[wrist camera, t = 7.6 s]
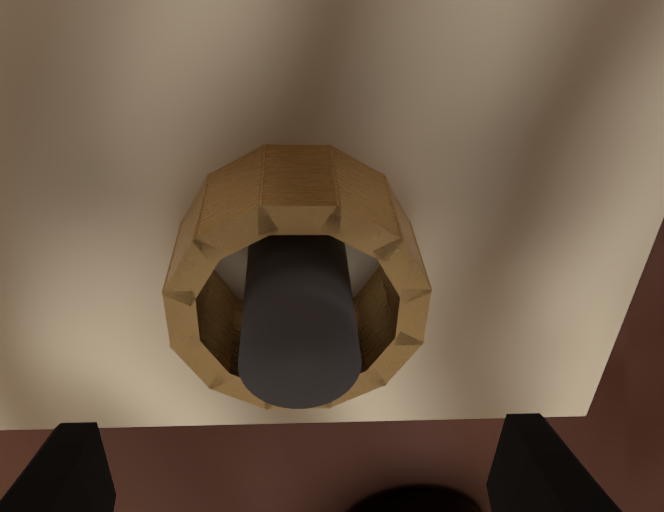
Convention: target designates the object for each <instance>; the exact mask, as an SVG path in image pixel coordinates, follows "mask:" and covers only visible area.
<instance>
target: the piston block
mask: <svg viewBox="0 0 664 512" xmlns="http://www.w3.org/2000/svg"><path fill="white" fill-rule="evenodd" d="M262 144H266V145H332V146H333V147H335V148H337V149H338V150H340V151H342V152H344V153H346V154H347V155H349V156H351V157H353V158H355V159H356V160H358V161H360V162H362V163H364V164H365V165H367V166H369V167H371V168H373V169H374V170H376V171H378V172H380V173H382V174H384V175H385V176H386V178H387V181H388V183H389V185H390V187H391V188H392V190H393V192H394V194H395V196H396V198H397V199H398V201H399V203H400V205H401V207H402V209H403V210H404V212H405V214H406V216H407V218H408V220H409V221H410V222H411V225H412V229H413V232H414V235H415V238H416V241H417V244H418V247H419V250H420V253H421V257H422V260H423V263H424V266H425V269H426V272H427V275H428V278H429V281H430V285H431V288H432V292H431V298H430V304H429V310H428V317H427V323H426V329H425V336H424V343H423V345H421V347H420V348H419V349H418V350H417V351H416V352H415V353H414V354H413V355H412V356H411V358H410V359H409V360H408V361H407V362H406V363H405V364H404V365H403V366H402V367H401V369H400V370H399V371H398V372H397V373H396V374H395V375H394V376H393V377H392V378H391V380H390V381H389V382H388V383H387V385H385V386H382V387H380V388H377V389H375V390H372V391H370V392H368V393H365V394H363V395H360V396H358V397H356V398H353V399H351V400H348V401H346V402H343V403H341V404H339V405H336V406H334V407H331V408H329V409H327V408H321V409H307V408H314V407H318V406H322V405H325V404H328V403H330V402H332V401H334V400H336V399H338V398H340V397H341V396H343V395H344V394H345V393H346V392H348V391H349V390H350V389H351V388H352V386H353V385H354V384H355V382H356V381H357V379H358V377H359V374H360V371H361V366H362V359H361V353H360V346H359V339H358V332H357V325H356V318H355V311H354V304H353V297H355V296H356V295H357V294H358V292H359V291H360V290H361V289H362V287H363V286H364V285H365V283H366V282H367V281H368V280H369V278H370V277H371V276H372V275H373V273H374V272H375V271H376V270H377V268H378V267H379V266H380V263H379V261H378V260H377V259H376V258H374V257H372V256H370V255H368V254H366V253H364V252H362V251H360V250H358V249H356V248H354V247H352V246H350V245H348V244H346V243H344V242H342V241H340V240H338V239H336V238H334V237H332V236H330V235H269V236H267V237H265V238H263V239H261V240H259V241H257V242H255V243H253V244H251V245H249V246H247V247H245V248H243V249H241V250H239V251H237V252H235V253H233V254H231V255H229V256H227V257H225V258H223V259H221V260H220V261H219V262H218V264H217V265H216V267H215V270H216V272H217V273H218V274H219V275H220V277H221V278H222V279H223V280H224V282H225V283H226V284H227V285H228V286H229V288H230V289H231V290H232V291H233V293H234V294H235V295H236V296H237V297H238V298H240V299H242V300H244V302H243V313H242V324H241V335H240V346H239V357H238V371H239V375H240V378H241V380H242V382H243V384H244V385H245V387H246V388H247V389H248V390H249V391H250V392H251V393H252V394H253V395H254V396H256V397H257V398H259V399H260V400H262V401H264V402H266V403H269V404H271V405H274V406H278V407H282V408H289V409H277V410H265V409H264V408H261V407H258V406H255V405H253V404H250V403H247V402H244V401H242V400H239V399H236V398H234V397H231V396H228V395H225V394H223V393H220V392H217V391H214V390H212V389H211V390H210V389H209V388H208V386H207V385H206V384H205V383H204V382H203V381H202V380H201V379H200V378H199V377H198V376H197V375H196V374H195V373H194V372H193V371H192V370H191V369H190V368H189V366H188V365H187V364H186V363H185V362H184V361H183V360H182V359H181V358H180V357H179V356H178V355H177V354H176V353H175V352H174V351H173V350H172V349H171V348H170V346H169V345H170V341H169V335H168V328H167V321H166V315H165V308H164V301H163V295H161V294H162V289H163V286H164V282H165V278H166V275H167V271H168V267H169V264H170V260H171V256H172V253H173V249H174V245H175V242H176V238H177V234H178V231H179V227H180V223H181V221H182V220H183V219H184V217H185V215H186V213H187V212H188V210H189V208H190V206H191V204H192V203H193V201H194V199H195V197H196V196H197V194H198V192H199V190H200V188H201V187H202V185H203V183H204V181H205V180H206V177H207V175H208V174H209V173H212V172H214V171H215V170H217V169H219V168H221V167H223V166H225V165H227V164H229V163H230V162H232V161H234V160H236V159H238V158H240V157H242V156H244V155H245V154H247V153H249V152H251V151H253V150H255V149H257V148H259V147H260V146H262ZM663 218H664V0H0V430H26V429H55V427H57V426H58V425H59V424H60V423H78V422H97V424H98V428H109V427H151V426H192V425H234V424H275V423H317V422H358V421H399V420H441V419H482V418H506V414H522V413H540V414H541V415H542V416H543V417H565V416H586V414H587V412H588V409H589V407H590V404H591V402H592V399H593V397H594V394H595V391H596V389H597V386H598V384H599V381H600V379H601V376H602V374H603V371H604V368H605V366H606V363H607V361H608V358H609V356H610V353H611V351H612V348H613V345H614V343H615V340H616V338H617V335H618V333H619V330H620V328H621V325H622V322H623V320H624V317H625V315H626V312H627V310H628V307H629V305H630V302H631V299H632V297H633V294H634V292H635V289H636V287H637V284H638V282H639V279H640V276H641V274H642V271H643V269H644V266H645V264H646V261H647V259H648V256H649V253H650V251H651V248H652V246H653V243H654V241H655V238H656V236H657V233H658V230H659V228H660V225H661V223H662V220H663Z"/></svg>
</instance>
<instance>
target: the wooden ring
mask: <svg viewBox="0 0 664 512" xmlns="http://www.w3.org/2000/svg"><path fill="white" fill-rule="evenodd" d="M269 235H330V236H332V237H334V238H336V239H338V240H340V241H342V242H344V243H346V244H348V245H350V246H352V247H354V248H356V249H358V250H360V251H362V252H364V253H366V254H368V255H370V256H372V257H374V258H376V259H377V260H378V261H379V263H380V266H379V267H378V268H377V270H376V271H375V272H374V273H373V275H372V276H371V277H370V278H369V280H368V281H367V282H366V283H365V285H364V286H363V287H362V289H361V290H360V291H359V292H358V294H357V295H356V296H355V297H353V304H354V311H355V318H356V325H357V332H358V339H359V346H360V353H361V359H362V366H361V371H360V374H359V377H358V379H357V381H356V382H355V384H354V385H353V386H352V388H351V389H350V390H349V391H348V392H346V393H345V394H344V395H343V396H341V397H340V398H338V399H336V400H334V401H332V402H330V403H328V404H325V405H322V406H318V407H314V408H307V409H321V408H327V409H329V408H331V407H334V406H336V405H339V404H341V403H343V402H346V401H348V400H351V399H353V398H356V397H358V396H360V395H363V394H365V393H368V392H370V391H372V390H375V389H377V388H380V387H382V386H385V385H387V383H388V382H389V381H390V380H391V378H392V377H393V376H394V375H395V374H396V373H397V372H398V371H399V370H400V369H401V367H402V366H403V365H404V364H405V363H406V362H407V361H408V360H409V359H410V358H411V356H412V355H413V354H414V353H415V352H416V351H417V350H418V349H419V348H420V347H421V345H423V343H424V336H425V329H426V323H427V317H428V310H429V304H430V298H431V292H432V288H431V285H430V281H429V278H428V275H427V272H426V269H425V266H424V263H423V260H422V257H421V253H420V250H419V247H418V244H417V241H416V238H415V235H414V232H413V229H412V225H411V222H410V221H409V220H408V218H407V216H406V214H405V212H404V210H403V209H402V207H401V205H400V203H399V201H398V199H397V198H396V196H395V194H394V192H393V190H392V188H391V187H390V185H389V183H388V181H387V178H386V176H385V175H384V174H382V173H380V172H378V171H376V170H374V169H373V168H371V167H369V166H367V165H365V164H364V163H362V162H360V161H358V160H356V159H355V158H353V157H351V156H349V155H347V154H346V153H344V152H342V151H340V150H338V149H337V148H335V147H333V146H332V145H266V144H262V146H260V147H259V148H257V149H255V150H253V151H251V152H249V153H247V154H245V155H244V156H242V157H240V158H238V159H236V160H234V161H232V162H230V163H229V164H227V165H225V166H223V167H221V168H219V169H217V170H215V171H214V172H212V173H209V174H208V175H207V177H206V180H205V181H204V183H203V185H202V187H201V188H200V190H199V192H198V194H197V196H196V197H195V199H194V201H193V203H192V204H191V206H190V208H189V210H188V212H187V213H186V215H185V217H184V219H183V220H182V221H181V223H180V227H179V231H178V234H177V238H176V242H175V245H174V249H173V253H172V256H171V260H170V264H169V267H168V271H167V275H166V278H165V282H164V286H163V289H162V294H161V295H163V301H164V308H165V315H166V321H167V328H168V335H169V341H170V345H169V346H170V348H171V349H172V350H173V351H174V352H175V353H176V354H177V355H178V356H179V357H180V358H181V359H182V360H183V361H184V362H185V363H186V364H187V365H188V366H189V368H190V369H191V370H192V371H193V372H194V373H195V374H196V375H197V376H198V377H199V378H200V379H201V380H202V381H203V382H204V383H205V384H206V385H207V386H208V388H209V389H210V390H211V389H212V390H214V391H217V392H220V393H223V394H225V395H228V396H231V397H234V398H236V399H239V400H242V401H244V402H247V403H250V404H253V405H255V406H258V407H261V408H264V409H265V410H277V409H289V408H282V407H278V406H274V405H271V404H269V403H266V402H264V401H262V400H260V399H259V398H257V397H256V396H254V395H253V394H252V393H251V392H250V391H249V390H248V389H247V388H246V387H245V385H244V384H243V382H242V380H241V378H240V375H239V371H238V357H239V346H240V335H241V324H242V313H243V302H244V300H242V299H240V298H238V297H237V296H236V295H235V294H234V293H233V291H232V290H231V289H230V288H229V286H228V285H227V284H226V283H225V282H224V280H223V279H222V278H221V277H220V275H219V274H218V273H217V272H216V270H215V267H216V265H217V264H218V262H219V261H220V260H221V259H223V258H225V257H227V256H229V255H231V254H233V253H235V252H237V251H239V250H241V249H243V248H245V247H247V246H249V245H251V244H253V243H255V242H257V241H259V240H261V239H263V238H265V237H267V236H269Z"/></svg>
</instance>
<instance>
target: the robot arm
mask: <svg viewBox="0 0 664 512" xmlns="http://www.w3.org/2000/svg"><path fill="white" fill-rule="evenodd" d="M486 485H487V490H488V495H489V500H490V505H491V510H492V512H622V511H621V510H620V509H619V507H618V506H617V505H616V504H615V503H614V502H613V501H612V499H611V498H610V497H609V496H608V495H607V494H606V492H605V491H604V490H603V489H602V488H601V487H600V485H599V484H598V483H597V482H596V481H595V479H594V478H593V477H592V476H591V475H590V473H589V472H588V471H587V470H586V469H585V467H584V466H583V465H582V464H581V463H580V461H579V460H578V459H577V458H576V456H575V455H574V454H573V453H572V452H571V450H570V449H569V448H568V447H567V445H566V444H565V443H564V442H563V440H562V439H561V438H560V437H559V435H558V434H557V433H556V432H555V431H554V429H553V428H552V427H551V426H550V424H549V423H548V422H547V421H546V419H545V418H544V417H543V416H542V415H541V414H540V413H522V414H506V418H505V421H504V425H503V428H502V432H501V435H500V439H499V442H498V446H497V449H496V453H495V456H494V460H493V463H492V467H491V470H490V474H489V477H488V481H487V484H486ZM115 499H116V492H115V489H114V485H113V481H112V477H111V474H110V470H109V466H108V462H107V458H106V455H105V451H104V447H103V443H102V440H101V436H100V432H99V428H98V424H97V422H78V423H60V424H59V425H58V426H57V427H55V429H54V430H53V431H52V433H51V434H50V435H49V437H48V438H47V440H46V441H45V442H44V444H43V445H42V446H41V448H40V449H39V450H38V452H37V453H36V454H35V456H34V457H33V459H32V460H31V461H30V463H29V464H28V465H27V467H26V468H25V469H24V470H23V472H22V473H21V474H20V476H19V477H18V478H17V480H16V481H15V482H14V484H13V485H12V486H11V487H10V489H9V490H8V491H7V493H6V494H5V495H4V497H3V498H2V499H1V500H0V512H113V511H114V505H115Z"/></svg>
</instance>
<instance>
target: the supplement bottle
mask: <svg viewBox="0 0 664 512" xmlns="http://www.w3.org/2000/svg"><path fill="white" fill-rule="evenodd" d="M353 512H479V511H478V510H477V509H476V508H475V507H474V506H473V505H472V504H470V503H469V502H467V501H466V500H464V499H462V498H460V497H458V496H456V495H453V494H450V493H447V492H443V491H438V490H430V489H410V490H402V491H396V492H392V493H388V494H385V495H381V496H379V497H376V498H374V499H372V500H369V501H368V502H366V503H364V504H362V505H361V506H359V507H358V508H357V509H355V510H354V511H353Z"/></svg>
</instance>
